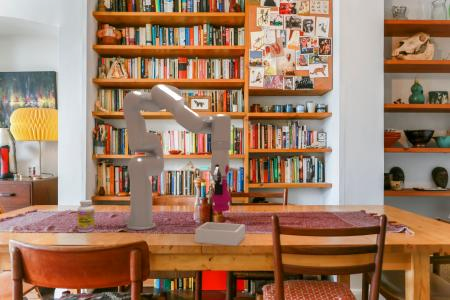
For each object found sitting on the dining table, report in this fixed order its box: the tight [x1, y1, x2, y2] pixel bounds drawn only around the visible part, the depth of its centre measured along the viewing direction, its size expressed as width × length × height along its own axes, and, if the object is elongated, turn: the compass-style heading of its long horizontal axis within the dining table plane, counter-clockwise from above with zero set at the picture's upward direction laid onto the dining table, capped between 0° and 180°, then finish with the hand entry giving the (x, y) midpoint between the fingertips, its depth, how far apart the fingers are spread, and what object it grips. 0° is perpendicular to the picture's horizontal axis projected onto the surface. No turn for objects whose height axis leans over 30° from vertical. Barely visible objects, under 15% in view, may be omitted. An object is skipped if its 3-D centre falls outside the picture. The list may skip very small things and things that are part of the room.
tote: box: [194, 221, 246, 247], centre depth 140 cm, size 16×13×5 cm
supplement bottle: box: [77, 199, 95, 233], centre depth 153 cm, size 7×7×13 cm
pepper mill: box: [211, 165, 232, 212], centre depth 139 cm, size 7×7×20 cm
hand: (221, 193), depth 139 cm, fingers closed on pepper mill, 5 cm apart
